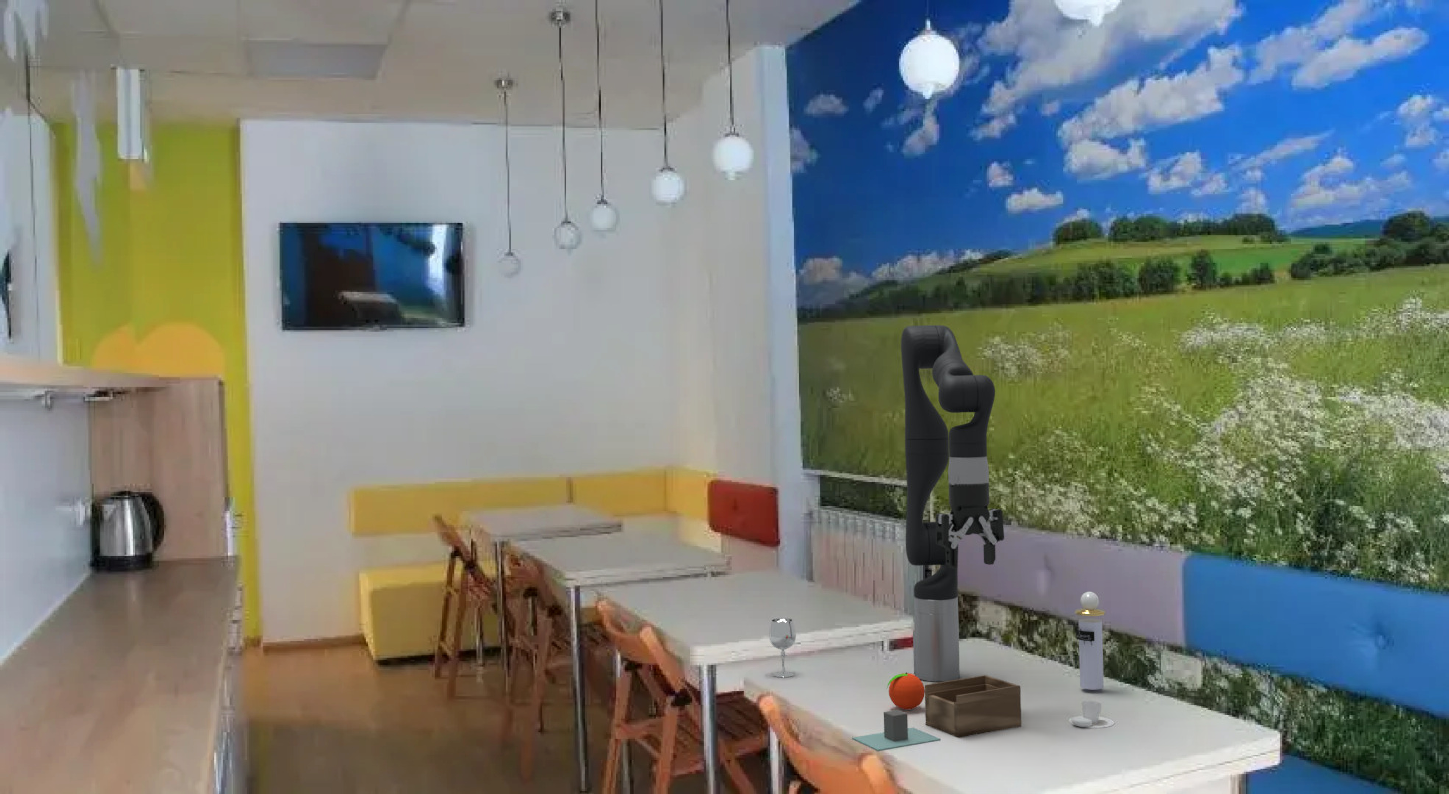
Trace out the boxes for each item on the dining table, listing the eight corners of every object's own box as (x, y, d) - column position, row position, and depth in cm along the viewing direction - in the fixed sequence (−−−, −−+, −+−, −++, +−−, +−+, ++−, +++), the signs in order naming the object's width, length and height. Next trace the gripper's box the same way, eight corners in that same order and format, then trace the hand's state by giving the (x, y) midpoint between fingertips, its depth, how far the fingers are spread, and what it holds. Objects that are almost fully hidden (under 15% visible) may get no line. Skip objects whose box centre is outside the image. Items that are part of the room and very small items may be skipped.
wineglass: (779, 670, 273) (778, 617, 273) (801, 673, 269) (800, 619, 269) (765, 676, 268) (763, 621, 268) (787, 679, 265) (786, 623, 265)
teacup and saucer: (1080, 732, 220) (1079, 710, 220) (1056, 721, 228) (1056, 699, 228) (1123, 728, 222) (1122, 705, 222) (1098, 717, 230) (1098, 695, 230)
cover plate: (852, 742, 218) (851, 712, 218) (913, 731, 224) (912, 702, 224) (877, 754, 211) (877, 723, 211) (940, 743, 216) (939, 713, 216)
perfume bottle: (1087, 685, 252) (1084, 588, 252) (1112, 690, 248) (1110, 591, 248) (1071, 690, 248) (1068, 592, 248) (1096, 695, 244) (1094, 595, 244)
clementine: (897, 716, 233) (896, 679, 232) (877, 708, 239) (876, 672, 239) (932, 710, 236) (931, 674, 236) (912, 703, 242) (911, 667, 242)
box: (925, 724, 226) (924, 684, 226) (986, 714, 232) (985, 675, 232) (959, 738, 217) (957, 696, 217) (1021, 726, 223) (1020, 685, 223)
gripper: (986, 477, 239) (988, 561, 239) (925, 481, 232) (928, 567, 232) (1011, 479, 232) (1013, 565, 232) (950, 484, 226) (952, 572, 226)
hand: (970, 566), depth 232 cm, fingers open, 8 cm apart
